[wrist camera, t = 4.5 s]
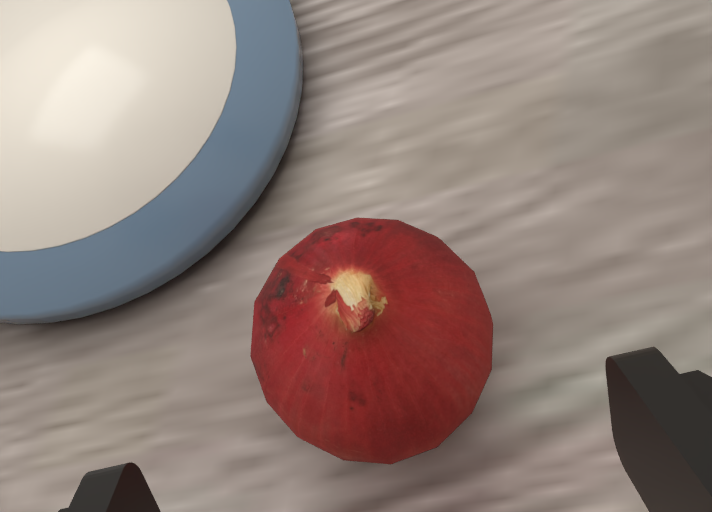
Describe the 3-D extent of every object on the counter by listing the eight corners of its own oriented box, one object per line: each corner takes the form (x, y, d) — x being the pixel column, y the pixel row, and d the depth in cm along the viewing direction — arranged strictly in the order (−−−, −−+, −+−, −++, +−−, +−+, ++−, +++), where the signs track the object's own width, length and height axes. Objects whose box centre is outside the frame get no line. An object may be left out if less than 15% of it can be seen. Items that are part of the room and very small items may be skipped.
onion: (256, 411, 20) (135, 358, 13) (344, 245, 21) (283, 108, 14) (435, 506, 18) (419, 510, 11) (518, 320, 20) (553, 211, 12)
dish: (269, -122, 27) (256, -164, 26) (347, 261, 21) (337, 240, 19) (-119, -15, 28) (-156, -48, 27) (-151, 379, 22) (-203, 368, 21)
